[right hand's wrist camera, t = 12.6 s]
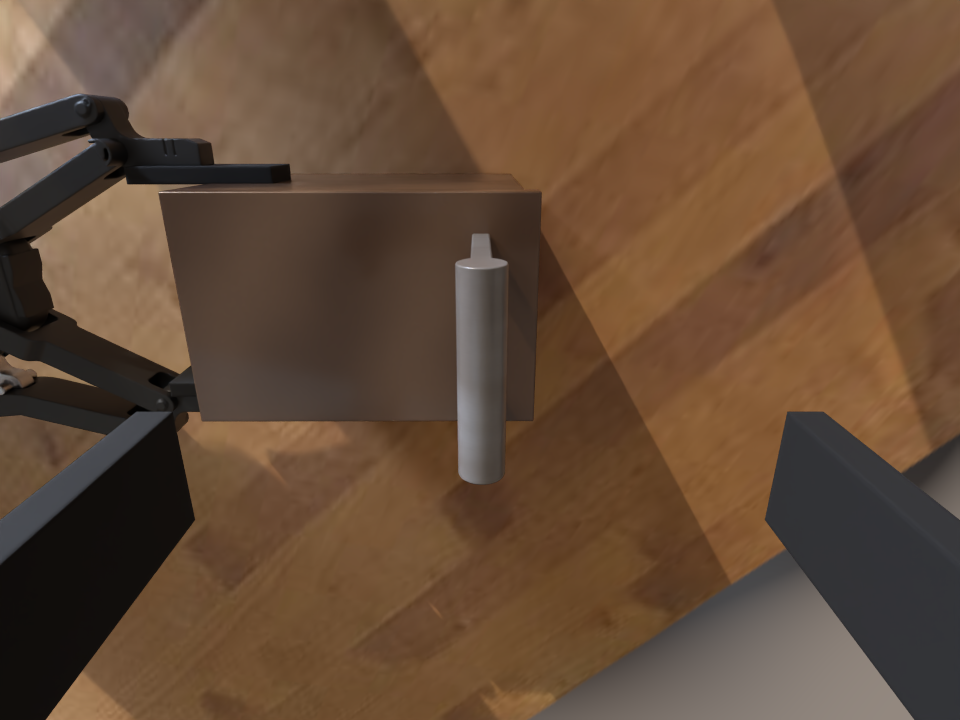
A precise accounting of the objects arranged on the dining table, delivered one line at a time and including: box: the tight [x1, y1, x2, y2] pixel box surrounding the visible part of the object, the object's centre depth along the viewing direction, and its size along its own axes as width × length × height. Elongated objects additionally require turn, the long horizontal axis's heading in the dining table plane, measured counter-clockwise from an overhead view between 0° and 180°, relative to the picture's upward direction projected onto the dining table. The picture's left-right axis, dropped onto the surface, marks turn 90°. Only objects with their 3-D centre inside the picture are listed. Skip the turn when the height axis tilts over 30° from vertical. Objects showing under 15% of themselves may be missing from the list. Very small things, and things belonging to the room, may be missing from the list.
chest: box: [179, 174, 524, 189], centre depth 30 cm, size 14×10×11 cm
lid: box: [158, 189, 542, 485], centre depth 21 cm, size 15×10×8 cm, turn 90°
